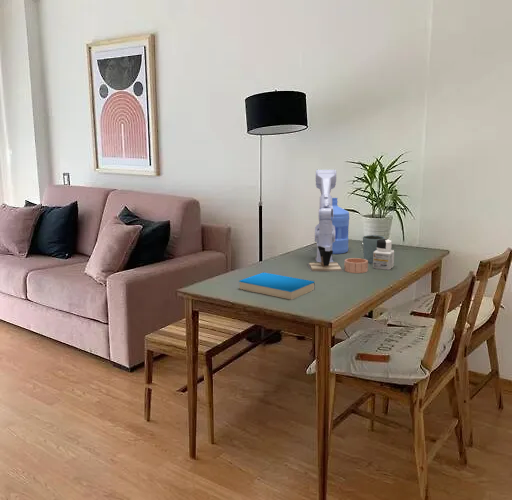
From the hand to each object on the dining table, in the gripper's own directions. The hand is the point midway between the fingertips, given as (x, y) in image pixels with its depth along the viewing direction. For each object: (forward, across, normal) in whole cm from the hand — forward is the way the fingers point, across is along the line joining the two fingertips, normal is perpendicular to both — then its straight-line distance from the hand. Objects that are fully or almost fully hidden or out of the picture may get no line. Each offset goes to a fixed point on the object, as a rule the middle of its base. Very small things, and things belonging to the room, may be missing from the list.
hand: (324, 263), depth 242 cm
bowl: (+2, +6, +13) cm, 15 cm away
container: (+3, -1, +27) cm, 27 cm away
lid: (+2, 0, 0) cm, 2 cm away
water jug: (+3, -38, +10) cm, 39 cm away
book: (+3, +33, -24) cm, 41 cm away
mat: (+2, 0, 0) cm, 2 cm away
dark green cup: (+3, -13, +25) cm, 28 cm away
